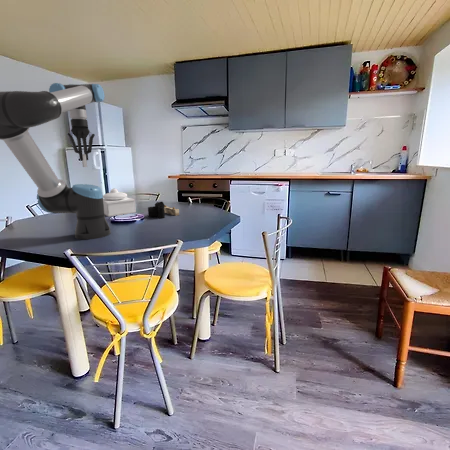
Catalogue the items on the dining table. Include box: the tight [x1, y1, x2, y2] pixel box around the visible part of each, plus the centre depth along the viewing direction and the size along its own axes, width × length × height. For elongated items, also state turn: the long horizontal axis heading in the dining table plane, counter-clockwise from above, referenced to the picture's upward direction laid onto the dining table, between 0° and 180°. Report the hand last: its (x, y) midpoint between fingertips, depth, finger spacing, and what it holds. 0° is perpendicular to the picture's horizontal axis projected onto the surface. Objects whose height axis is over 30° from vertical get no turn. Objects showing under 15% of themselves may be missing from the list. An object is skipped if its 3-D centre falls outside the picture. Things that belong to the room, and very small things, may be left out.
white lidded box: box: [102, 188, 137, 217], centre depth 182 cm, size 18×18×16 cm
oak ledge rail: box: [164, 204, 180, 217], centre depth 178 cm, size 18×2×4 cm, turn 41°
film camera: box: [147, 201, 166, 219], centre depth 168 cm, size 15×10×9 cm, turn 15°
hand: (85, 166), depth 147 cm, fingers closed
